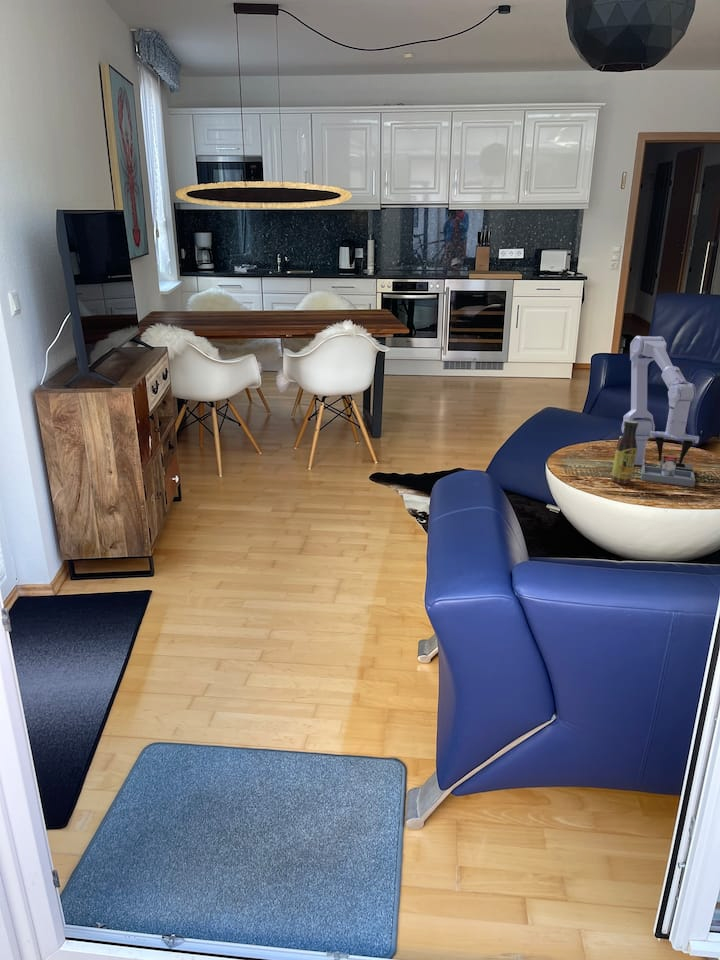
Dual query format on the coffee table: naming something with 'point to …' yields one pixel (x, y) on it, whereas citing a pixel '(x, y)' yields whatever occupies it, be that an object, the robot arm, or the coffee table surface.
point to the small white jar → (668, 465)
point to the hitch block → (681, 466)
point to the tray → (679, 476)
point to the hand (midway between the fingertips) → (669, 461)
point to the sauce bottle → (625, 454)
